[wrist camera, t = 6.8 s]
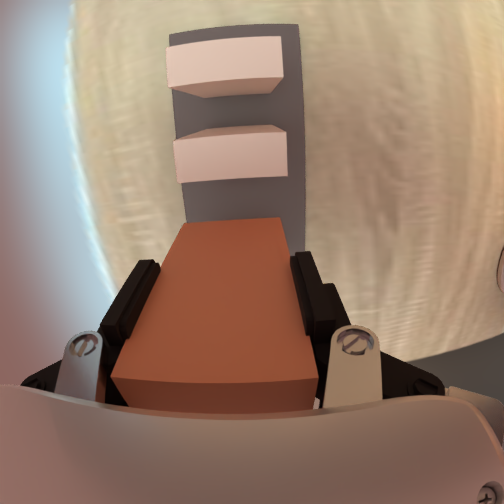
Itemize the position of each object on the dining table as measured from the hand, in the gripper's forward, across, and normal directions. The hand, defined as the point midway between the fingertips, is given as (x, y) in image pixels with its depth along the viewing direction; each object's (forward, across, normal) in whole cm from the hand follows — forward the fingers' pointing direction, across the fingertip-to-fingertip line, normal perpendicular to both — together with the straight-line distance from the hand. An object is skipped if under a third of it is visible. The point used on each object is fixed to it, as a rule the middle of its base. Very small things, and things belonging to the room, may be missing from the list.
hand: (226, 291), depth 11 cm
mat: (+14, 0, -1) cm, 14 cm away
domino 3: (+5, 0, 0) cm, 5 cm away
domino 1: (+14, 0, -9) cm, 16 cm away
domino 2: (+14, 0, -4) cm, 14 cm away
